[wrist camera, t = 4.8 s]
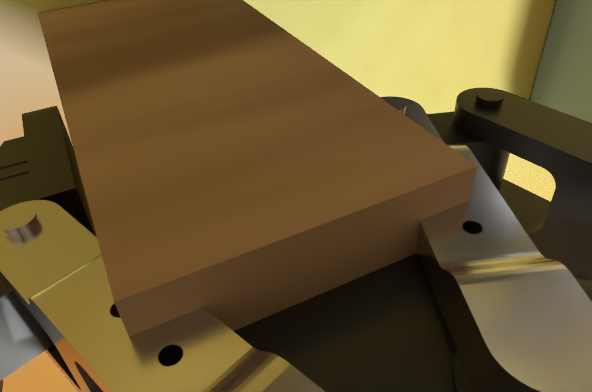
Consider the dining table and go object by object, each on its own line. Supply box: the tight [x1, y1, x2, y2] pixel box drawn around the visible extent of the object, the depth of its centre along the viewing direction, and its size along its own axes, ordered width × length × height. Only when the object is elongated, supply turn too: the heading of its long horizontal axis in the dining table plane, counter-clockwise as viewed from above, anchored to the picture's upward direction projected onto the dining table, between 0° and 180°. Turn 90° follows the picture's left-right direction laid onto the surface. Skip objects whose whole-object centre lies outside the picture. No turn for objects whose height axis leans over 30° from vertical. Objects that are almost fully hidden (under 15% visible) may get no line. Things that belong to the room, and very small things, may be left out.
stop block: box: [38, 0, 477, 337], centre depth 10 cm, size 4×4×10 cm
